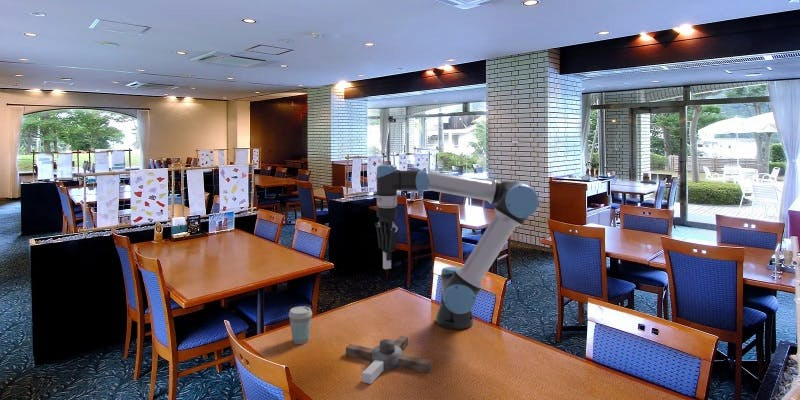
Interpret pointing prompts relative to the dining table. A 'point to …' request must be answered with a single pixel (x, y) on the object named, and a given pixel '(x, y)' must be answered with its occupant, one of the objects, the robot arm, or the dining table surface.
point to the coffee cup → (300, 324)
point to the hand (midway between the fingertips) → (387, 268)
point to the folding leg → (372, 371)
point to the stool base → (390, 355)
